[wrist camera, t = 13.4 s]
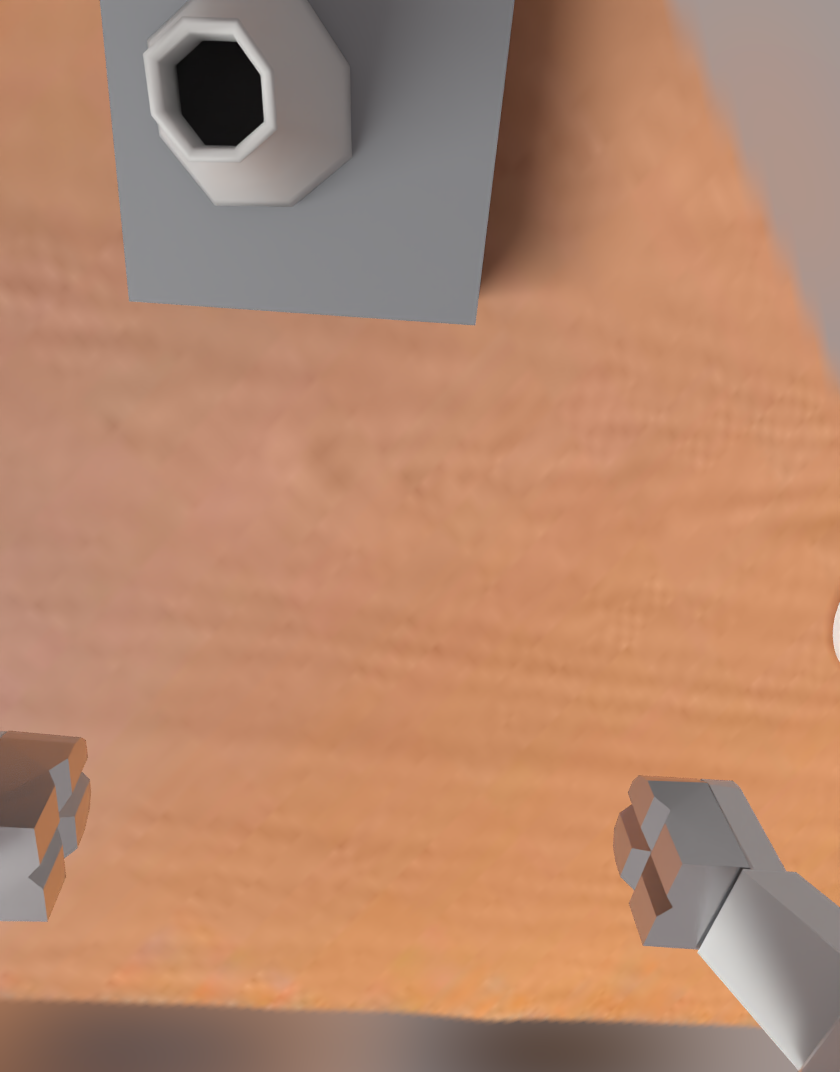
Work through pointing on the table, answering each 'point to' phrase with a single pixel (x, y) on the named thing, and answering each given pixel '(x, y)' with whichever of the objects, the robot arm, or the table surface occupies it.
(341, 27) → the grey block
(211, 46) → the flask
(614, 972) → the table surface
